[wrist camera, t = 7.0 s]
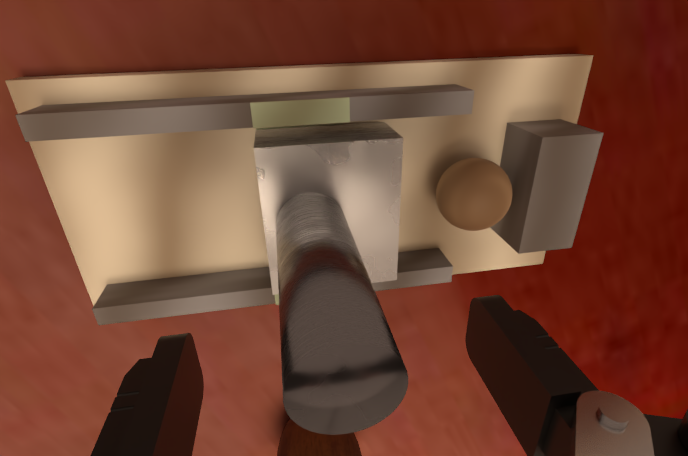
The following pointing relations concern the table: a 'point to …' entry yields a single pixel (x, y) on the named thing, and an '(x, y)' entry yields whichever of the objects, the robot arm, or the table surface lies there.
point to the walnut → (474, 194)
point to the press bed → (241, 176)
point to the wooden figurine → (315, 443)
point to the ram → (333, 268)
